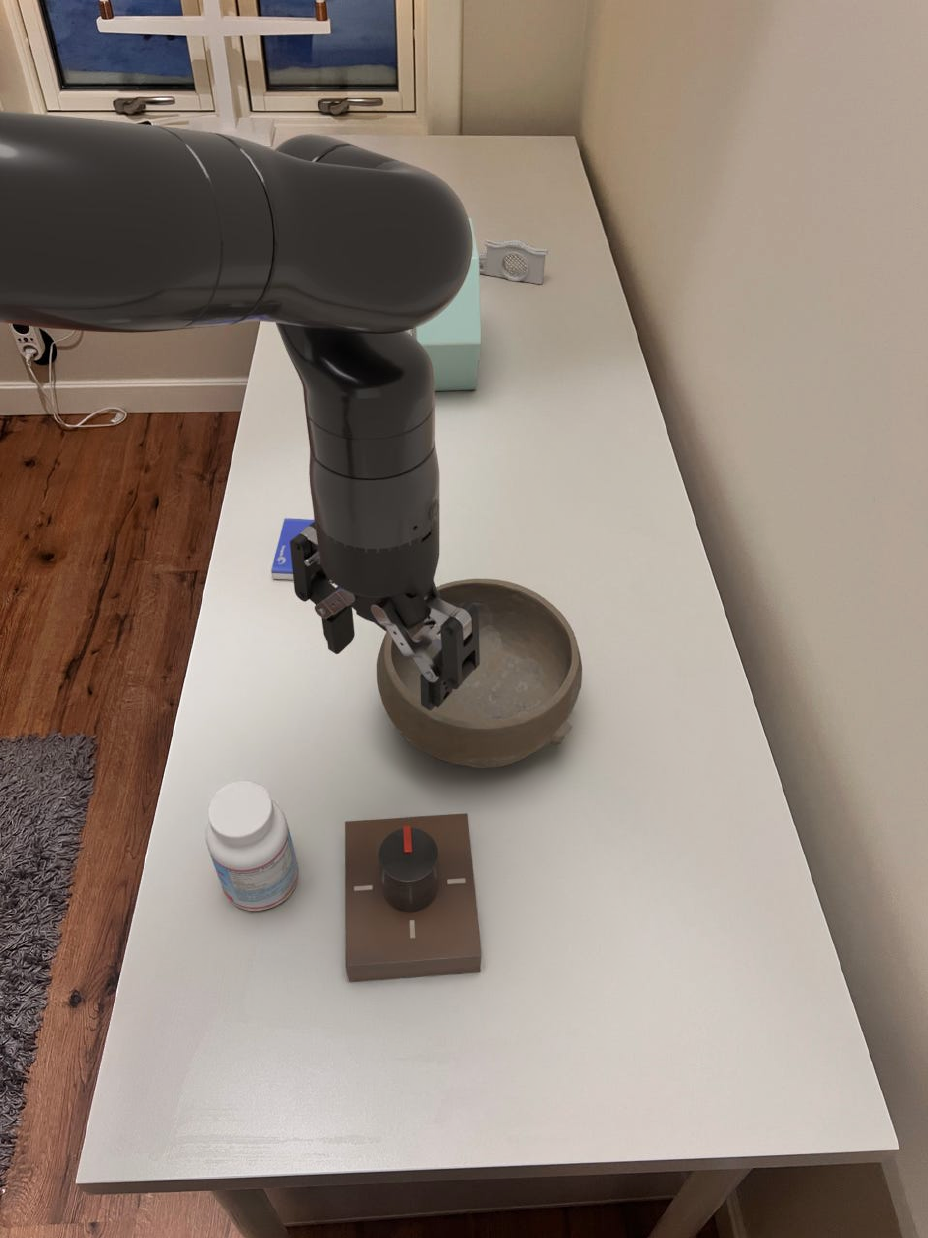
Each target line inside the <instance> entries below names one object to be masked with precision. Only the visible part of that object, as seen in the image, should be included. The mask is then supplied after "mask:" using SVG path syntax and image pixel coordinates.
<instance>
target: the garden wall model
mask: <svg viewBox="0 0 928 1238" xmlns="http://www.w3.org/2000/svg"><path fill="white" fill-rule="evenodd" d="M484 246H485V247H486V252H484V251H482V252H481V251H480V252H478V255H479V272H480V274H481V275H487V276H491V277H497V278H502V279H506V280H509V281H511V282H525V283H531V284H537V285H542V284H543V282H544V275H545V265H546V257H547V255H548V253H549V249H548V248H547V249H546V248H536V247H534V246H532V245H531V244H529V243H527V242H525V241H522V240H518V239H509V240H505V241H495V240H493V239H490V238H488V239H485V244H484ZM515 256H516V257H515ZM515 266H516V267H515ZM512 271H513V272H512Z"/></svg>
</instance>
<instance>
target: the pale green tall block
mask: <svg viewBox="0 0 928 1238" xmlns="http://www.w3.org/2000/svg"><path fill="white" fill-rule="evenodd" d="M468 219H469V222H470V226H471V231H472V239H473V250H472V259H471V264H470V268H469V271H468V274H467V277H466V279H465V281H464V283H463V285H462V287H461V289H460V291H459V292H458V294H457V295H456V297H455V298H454V300H453V301H452V302H451V303H450V304H449V305H448V307H446V308H445V309H444V310H443V311H442V312H441V313H440V314H439V315H437V316H436V317H435V318H433V319H432V320H430V321H429V322H427V323H425V324H423V325H421V326H419V327H416V328H413V329H411V336H412V337H413V338H414V339H416V340H417V341H418V342H419V343H420V344H421V345H422V346H423V347H424V349H425V350H426V352H427V354H428V355H429V357H430V359H431V362H432V366H433V372H434V385H435V392H438V391H439V392H440V391H441V392H443V391H469V390H470V391H471V390H477V386H478V385H477V384H478V375H479V369H480V368H479V367H480V359H481V350H482V349H481V348H482V316H481V315H482V314H481V279H480V278H481V275H480V272H479V263H480V262H479V255H478V253H479V251H478V246H477V245H478V244H477V240H476V234H475V230H474V225H473V224H474V223H473V219H472V217H468Z"/></svg>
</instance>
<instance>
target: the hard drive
mask: <svg viewBox="0 0 928 1238" xmlns="http://www.w3.org/2000/svg"><path fill="white" fill-rule="evenodd" d="M314 521H315V519H307V518H291V517H290V518H286V517H285V518H284V519H283V521H282V526H281V529H280V533H279V538H278V542H277V546H276V548H275V553H274V556H273V560H272V565H271V569H270V573H271V579H273V580H290V581H294V580H293V570H292V560H291V550H290V541H291V540H292V539H293V538H294V537H295V536H297V535H298V534H299V533H300V532H302V531H303V530H304V529H305V528H307V527H308V526H309V525H310V524H312V523H313V522H314ZM329 582H332V581H331V580H330V581H329Z"/></svg>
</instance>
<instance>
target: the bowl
mask: <svg viewBox="0 0 928 1238" xmlns="http://www.w3.org/2000/svg"><path fill="white" fill-rule="evenodd" d="M436 588H437V590H438V592H439V595H440V599H441V600H443V601H445V602H447V603H449V604H451V605H453V606H455V607H457V608H459V607H460V606H461V605H462V604H463V603H464V602H465V601H469V602H471V603H473V604H474V605H475V606H476V607H477V609H478V612H479V649H480V665H479V666H478V667H477V668H476V669H475V670H474V671H473V672H472V673H471V674H470V675H469V676H468V677H467V678H466V679H465V680H464V681H463V683H462V685H461V686H460V687H459V688H458V689H452V693H451V694H450V695H449V696H448V697H447V698H446V700H445V701H444V702H443V703H442V704H441V705H440V706H439V707H436V706H435V707H434V708H433V709H432V710H428V709H426V708H425V707H423V706H421V684H420V675H421V674H422V672H421V671H420V669H419V667H418V666H417V664H416V663H415V661H414V659H413V658H412V657H411V656H404V655H403V654H402V653H401V651H400V649H399V648H398V646H397V645H396V643H395V642H394V640H393V638H392V637H391V635H390V634H389V633H388V632H386V631H385V634H384V636H383V639H382V642H381V644H380V648H379V651H378V654H377V659H376V681H377V682H376V683H377V688H378V693H379V696H380V700H381V703H382V705H383V708H384V710H385V712H386V714H387V716H388V717H389V720H390V721H391V722H392V723H393V725H394V727H395V728H396V729H397V730H398V731H399V733H401V735H402V736H403V737H404V738H405V739H406V740H407V741H409V742H410V744H412V745H414V746H415V747H416V748H418V749H419V750H420V751H422V752H424V753H426V754H427V755H429V756H431V757H434V758H436V759H438V760H441V761H444V762H447V763H450V764H454V765H459V766H460V765H461V766H468V767H473V768H478V769H481V768H484V769H485V768H494V767H495V768H497V767H503V766H507V765H511V764H513V763H516V762H519V761H521V760H523V759H525V758H527V757H528V756H530V755H532V754H534V753H536V752H538V751H539V750H540V749H541V748H542V747H544V746H546V745H548V744H552V745H553V746H560V745H561V744H562V742H563V741H564V740H565V738H566V737H567V735H569V734H570V733H571V731H572V729H573V726H572V725H573V724H571V722H570V721H569V720H568V719H569V717H570V715H571V713H572V712H573V710H574V708H575V705H576V703H577V700H578V698H579V694H580V691H581V688H582V680H583V663H582V657H581V652H580V648H579V645H578V640H577V637H576V635H575V632H574V629H573V628H572V627H571V624H570V622H569V621H568V620H567V618H566V617H565V615H563V613H562V612H561V611H560V610H559V609H558V608H557V607H556V606H555V605H554V604H552V602H550V601H549V600H548V599H546V598H545V597H544V596H542V595H541V594H539V593H537V592H536V591H534V590H533V589H530V588H528V587H526V586H523V585H520V584H517V583H514V582H511V581H509V580H508V581H507V580H502V579H495V578H494V579H493V578H466V579H460V580H455V581H454V580H453V581H450V582H446V583H443V584H440V585H438V586H436ZM423 626H424V621H422V622H421V623H419V624H417V625H416V626H414V627H412V628H411V629H409V630H408V633H409V634H410V636H411V638H413V637H414V636H415V635H416V634H417V633H418V632H419V631H420V630H421V629H422V628H423ZM427 652H428V654H429V656H430V657H431V659H432V658H433V657H434V656H435V655H436V654H437V653H438V652H437V650H436V648H435V647H434V645H433V644H432V643H431V644H430V645H429V646H428V648H427Z"/></svg>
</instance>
